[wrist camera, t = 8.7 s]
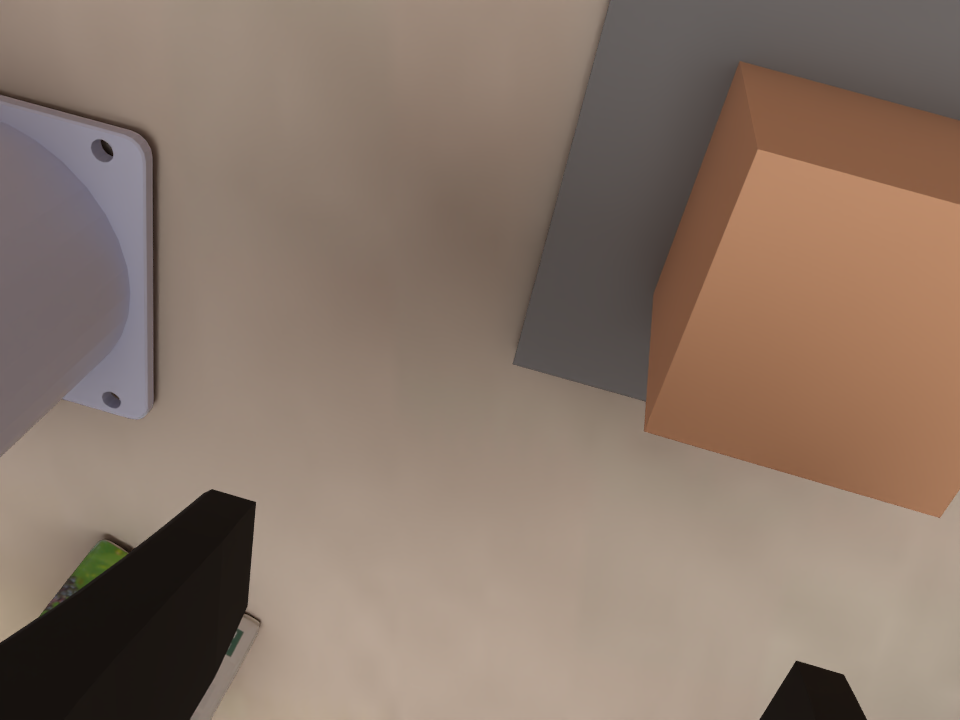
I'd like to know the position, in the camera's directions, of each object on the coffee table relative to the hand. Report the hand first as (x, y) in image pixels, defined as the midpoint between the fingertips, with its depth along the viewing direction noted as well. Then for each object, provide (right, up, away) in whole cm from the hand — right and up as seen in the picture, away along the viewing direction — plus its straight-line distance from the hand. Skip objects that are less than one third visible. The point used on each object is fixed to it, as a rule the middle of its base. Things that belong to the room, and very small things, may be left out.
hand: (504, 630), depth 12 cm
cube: (+6, +6, +6) cm, 11 cm away
